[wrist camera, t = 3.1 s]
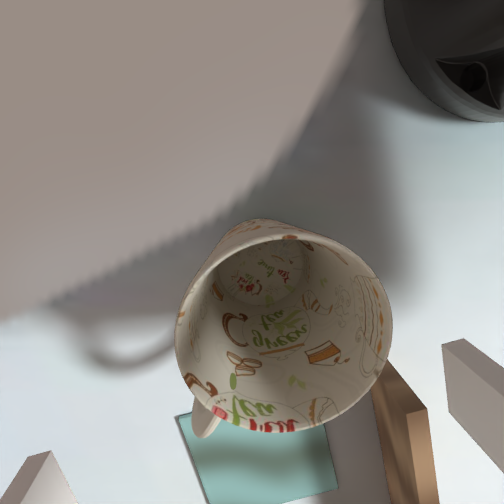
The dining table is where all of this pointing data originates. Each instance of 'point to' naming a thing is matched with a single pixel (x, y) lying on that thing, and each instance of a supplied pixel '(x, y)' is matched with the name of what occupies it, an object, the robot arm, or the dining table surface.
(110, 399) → the dining table surface
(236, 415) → the mug
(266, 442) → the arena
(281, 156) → the dining table surface
